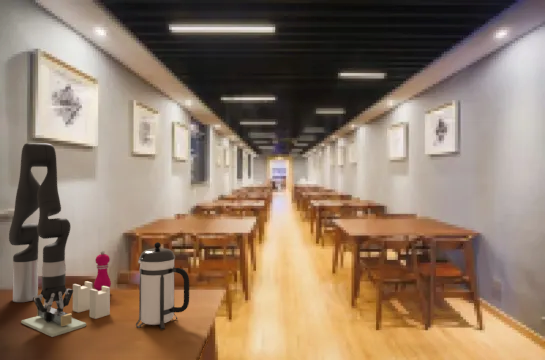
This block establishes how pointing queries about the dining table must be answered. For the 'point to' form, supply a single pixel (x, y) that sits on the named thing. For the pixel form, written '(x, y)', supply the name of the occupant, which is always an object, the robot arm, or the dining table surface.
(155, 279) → the coffee press
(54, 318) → the rail
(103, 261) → the pepper mill
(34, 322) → the mat
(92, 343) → the dining table surface
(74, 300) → the post
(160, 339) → the dining table surface
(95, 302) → the post
